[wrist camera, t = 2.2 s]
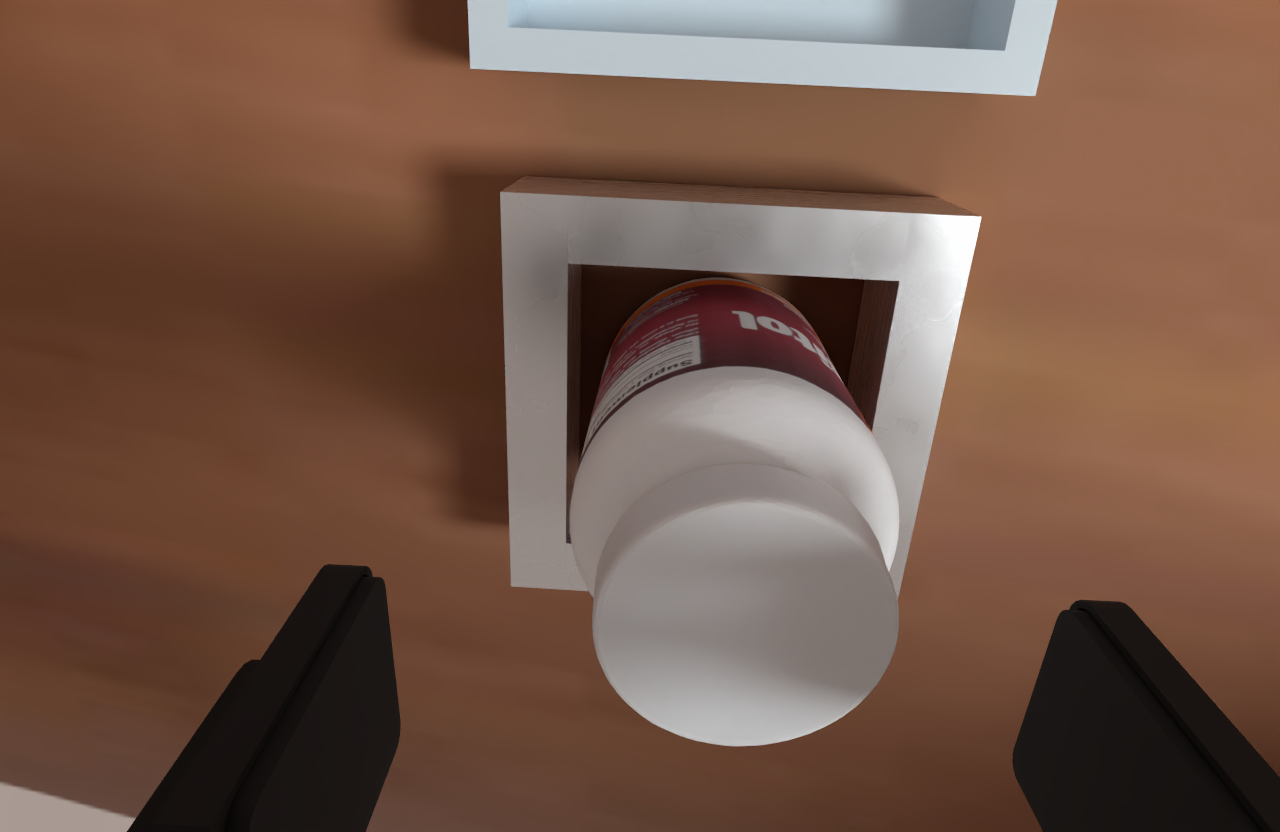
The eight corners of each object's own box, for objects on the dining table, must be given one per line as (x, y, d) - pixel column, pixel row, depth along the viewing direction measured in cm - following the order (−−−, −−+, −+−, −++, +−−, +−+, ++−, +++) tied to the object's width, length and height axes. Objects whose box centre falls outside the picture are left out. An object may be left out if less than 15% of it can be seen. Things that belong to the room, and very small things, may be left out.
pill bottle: (868, 396, 22) (1035, 672, 12) (694, 512, 24) (708, 839, 13) (736, 221, 20) (799, 368, 10) (558, 361, 22) (458, 608, 12)
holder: (870, 548, 24) (895, 609, 21) (529, 528, 24) (510, 586, 21) (938, 197, 20) (981, 216, 17) (524, 175, 20) (500, 192, 17)
